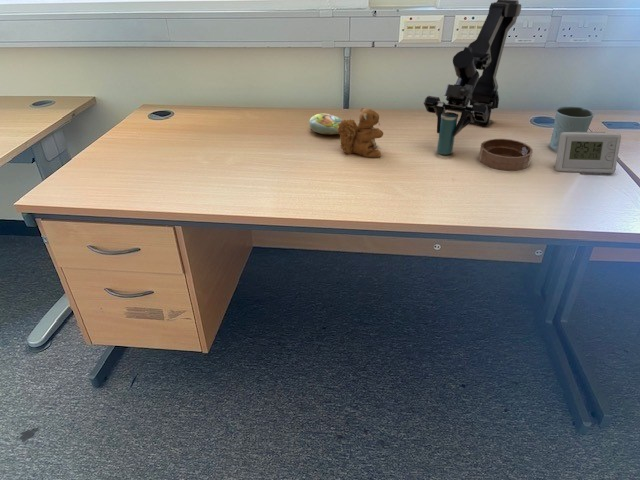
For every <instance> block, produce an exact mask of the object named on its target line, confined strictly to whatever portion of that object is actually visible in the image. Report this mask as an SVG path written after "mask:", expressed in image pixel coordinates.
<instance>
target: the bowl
mask: <svg viewBox="0 0 640 480" xmlns="http://www.w3.org/2000/svg"><path fill="white" fill-rule="evenodd" d="M533 151H534V149H533V148H532V147H531V146H530V145H528V144H527V143H526V142H523V141H519V140H515V139H511V138H510V139H509V138H490V139H486V140H484V141H483V142H481V144H480V148H479V153H478V161H479V162H480V163H481V164H483V165H484V166H486V167H489V168H492V169H495V170H500V171H512V172H513V171H522V170H524V169H527V168H528V167H529V166H530V164H531V161H532V157H533V153H534V152H533Z"/></svg>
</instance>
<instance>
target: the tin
mask: <svg viewBox="0 0 640 480" xmlns="http://www.w3.org/2000/svg"><path fill="white" fill-rule="evenodd" d="M458 118H459V114H458V113H457V112H453V111H445V113H442V114H441V123H440V131H439V133H438V138H437V139H438V140H437V147H436V152H437V154H440V155H445V156H446V155H451V154H452V153H453V151H454V150H453V149H454V144H455V137H456V136H455V137H453V132H454V130H455V127H456V125H457V123H458Z"/></svg>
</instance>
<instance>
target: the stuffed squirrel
mask: <svg viewBox="0 0 640 480" xmlns="http://www.w3.org/2000/svg"><path fill="white" fill-rule="evenodd" d="M341 120H342V121H341V123H339V124H338V126H339V128H338V129H337V130H338V133H339V134H338V135H339V136H340V137H339V139H340V148H341V149H342V151H343V152H344V153H346V154H348V155H351V154H355V153H356V154H357V155H360V156H361V157H362V156H363V157H367V158H379V157H381V156H382V152H381V150H379V149H376V146H377V143H376V139H381V138H382V137H384V131H382V130H381V129H380V128H378V127H374V126H376V125H377V124H378V126H381V123H380V114H379V112H377V111H375V110H373V109H370V108H361V109H360V114H359V120H358V121H359V122H358V124H357V123H356V122H355V119H341Z"/></svg>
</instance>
